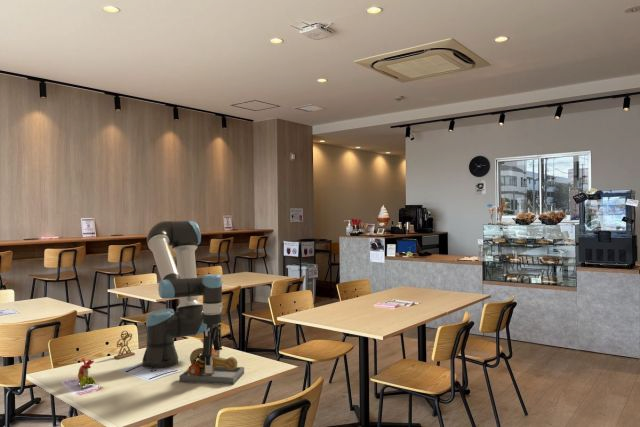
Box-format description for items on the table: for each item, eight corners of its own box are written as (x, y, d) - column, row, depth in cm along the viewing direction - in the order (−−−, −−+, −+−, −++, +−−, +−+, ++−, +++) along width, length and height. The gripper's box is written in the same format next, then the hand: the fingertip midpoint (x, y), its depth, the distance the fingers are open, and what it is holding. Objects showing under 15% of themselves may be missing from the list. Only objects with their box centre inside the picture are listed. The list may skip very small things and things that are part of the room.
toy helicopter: (196, 370, 202) (197, 337, 203) (241, 376, 196) (242, 341, 196) (185, 376, 194) (185, 341, 195) (231, 382, 188) (232, 346, 188)
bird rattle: (72, 392, 186) (82, 387, 181) (67, 363, 189) (77, 358, 184) (88, 388, 191) (99, 383, 186) (84, 360, 194) (93, 354, 189)
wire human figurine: (118, 359, 222) (118, 333, 222) (113, 358, 224) (113, 332, 224) (135, 354, 230) (135, 329, 230) (129, 353, 232) (129, 328, 232)
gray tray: (179, 382, 191) (179, 375, 191) (193, 371, 205) (193, 365, 205) (233, 384, 188) (233, 378, 188) (244, 373, 202) (244, 367, 202)
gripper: (212, 318, 186) (212, 378, 185) (229, 308, 206) (229, 362, 206) (193, 317, 187) (193, 377, 186) (212, 308, 207) (213, 361, 207)
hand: (212, 369), depth 196 cm, fingers open, 8 cm apart
